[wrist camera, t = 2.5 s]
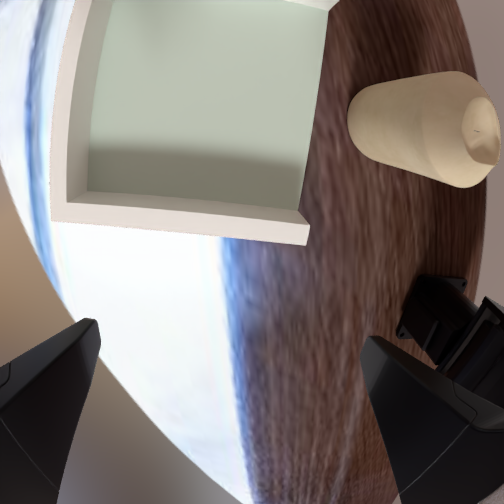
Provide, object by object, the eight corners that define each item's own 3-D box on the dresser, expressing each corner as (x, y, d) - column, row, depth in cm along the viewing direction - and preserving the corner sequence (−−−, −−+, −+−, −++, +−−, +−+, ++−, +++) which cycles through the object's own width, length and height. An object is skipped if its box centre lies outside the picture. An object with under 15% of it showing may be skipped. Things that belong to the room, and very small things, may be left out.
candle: (423, 143, 19) (527, 167, 10) (366, 175, 19) (463, 218, 10) (394, 74, 17) (497, 58, 8) (331, 102, 17) (422, 88, 8)
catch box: (328, -1, 14) (346, -20, 11) (293, 226, 20) (305, 245, 17) (106, -16, 12) (88, -36, 9) (75, 205, 18) (51, 221, 15)
